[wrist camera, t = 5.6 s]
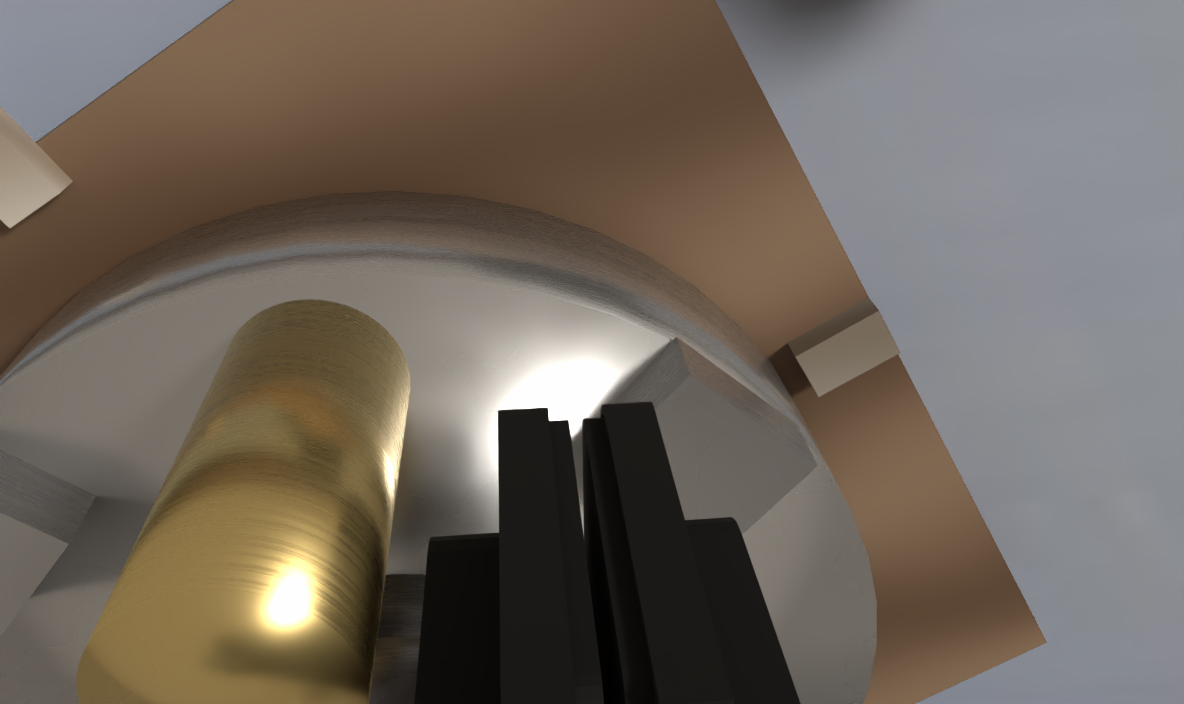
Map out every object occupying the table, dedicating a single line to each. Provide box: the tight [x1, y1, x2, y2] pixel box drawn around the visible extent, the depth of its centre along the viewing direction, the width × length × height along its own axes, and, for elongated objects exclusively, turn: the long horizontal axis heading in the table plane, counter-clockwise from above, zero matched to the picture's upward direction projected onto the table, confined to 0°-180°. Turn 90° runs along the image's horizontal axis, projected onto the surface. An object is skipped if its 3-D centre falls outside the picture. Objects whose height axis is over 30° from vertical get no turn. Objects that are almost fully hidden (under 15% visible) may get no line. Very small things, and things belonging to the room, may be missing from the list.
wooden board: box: [0, 0, 1047, 704], centre depth 19 cm, size 22×20×2 cm
